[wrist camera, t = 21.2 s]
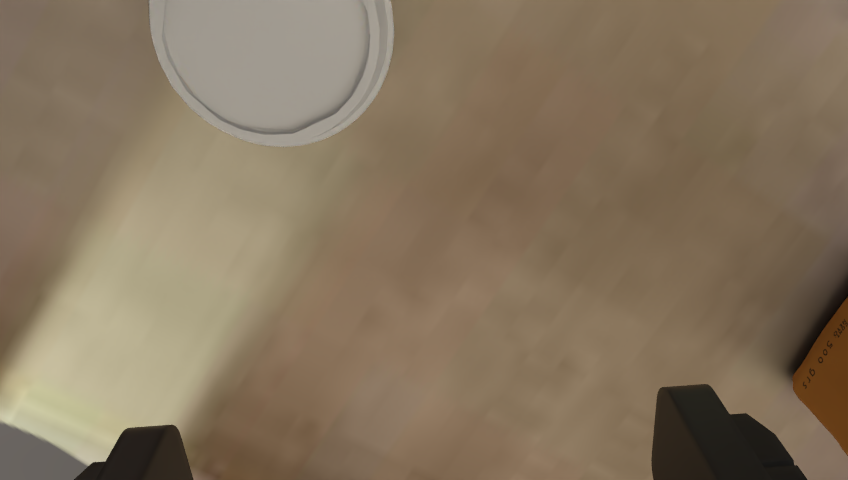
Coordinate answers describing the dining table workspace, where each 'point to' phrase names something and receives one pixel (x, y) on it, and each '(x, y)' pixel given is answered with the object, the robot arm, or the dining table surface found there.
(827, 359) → the coffee package
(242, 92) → the disposable coffee cup
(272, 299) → the dining table surface
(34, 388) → the dining table surface
